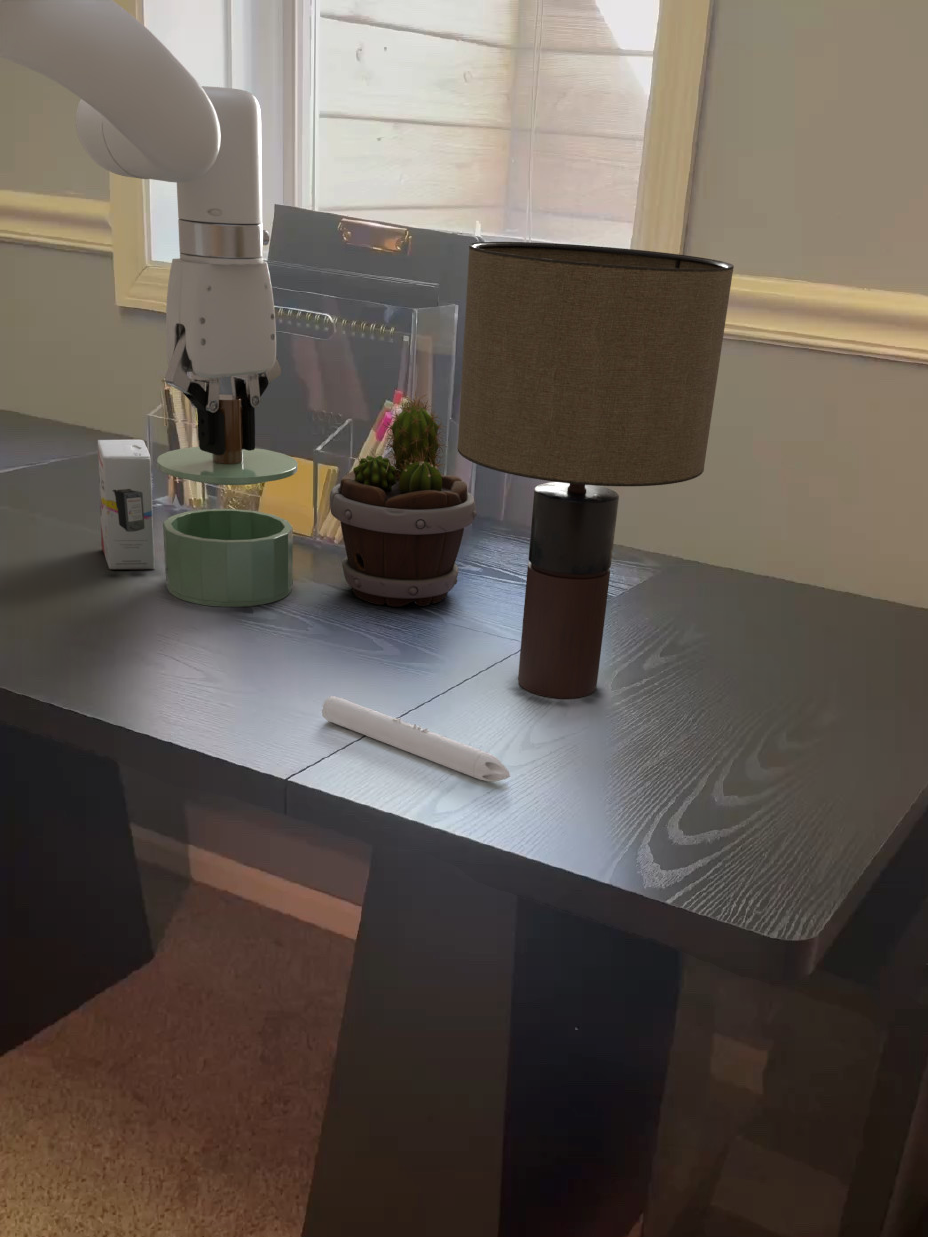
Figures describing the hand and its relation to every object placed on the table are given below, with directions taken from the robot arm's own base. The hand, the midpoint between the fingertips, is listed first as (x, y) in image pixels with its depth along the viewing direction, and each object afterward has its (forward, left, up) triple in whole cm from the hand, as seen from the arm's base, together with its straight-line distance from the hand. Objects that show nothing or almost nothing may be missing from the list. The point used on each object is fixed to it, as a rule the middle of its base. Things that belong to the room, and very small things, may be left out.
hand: (227, 448), depth 127 cm
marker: (+7, -43, -14) cm, 46 cm away
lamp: (+24, -31, -14) cm, 42 cm away
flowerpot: (+17, -4, -14) cm, 22 cm away
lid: (0, 0, -2) cm, 2 cm away
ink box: (-9, +11, -14) cm, 20 cm away
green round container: (0, 0, -14) cm, 14 cm away
